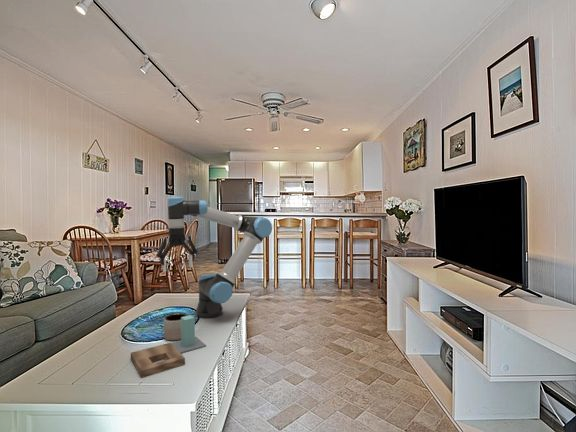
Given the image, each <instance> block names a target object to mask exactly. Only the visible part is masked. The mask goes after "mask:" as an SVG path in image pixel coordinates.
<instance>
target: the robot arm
mask: <svg viewBox="0 0 576 432" xmlns="http://www.w3.org/2000/svg"><path fill="white" fill-rule="evenodd" d="M167 216H168V222H167V223H168V238H167V237H162V240H161V241H162V242H161V244H160V246H159V249H158V251H157V253H156V256H155V257H156V258H158V259H160V265H161V266H162V272H164V273H165V272H167V259H166V256H167V255H168V254H169V252H170V251H171V249H172V248H173V247H177V246H179V247H181V246H182V247H184V249H185V250H186V251H187V252H188V253H189V254H188V268H193V267H194V264H193V261H195V260H194V259H195V255H196V254H197V253H198V250H197V248H196V246H195V244H194V242H193V240H192V237H191V235H187V236H185V235H186V233H185V216H191V217H195V218H199V219H203V220H206V221H209V222H213V223H216V224H219V225H223V226H227V227H229V228H232V229H233V228H234V231H238V232H241V233H243V234H244V236H243V237H242V240H241V241H240V242H239V244H238V246H237V247H236V249H235V250H234V252H233V253H232V255H231V256H230V258H229V259H228V261H227V262H226V264H225V266H224V267H223V269H222V270H221V271H220V272H217V273H205V274H201V275H199V276H198V302H197V303H198V304H197V307H196V310H195V315H196V314H197V315H199V317H198V318H203V319H204V318H205V319H209V318H216V317H219V316H221V315H222V314H223V313H224V311H223V310H224V309H223V306H222V304H224V303H227V302H228V301H229V300H230V299H231V298H232V296H233V293H234V290H233V288H234V286H235V284H236V283H235V280H236V278H237V276H238V275H239V274H240V272H241V270H242V268H243V267H244V265H245V264H246V262H247V261H248V259H249V257H250V256H251V254H252V253H253V251H254V250H255V248H256V246H257V245H259V244H262V243H263V240H264V239H266V238H268V237H269V236H270V235H271V234H272V232H273V226H272V223H271V221H270V220H269V219H268V217H264V216H245V215H242V214H238V215H235V214H232V213H230V212H227V211H223V210H220V209H217V208H214V207H210V206H208V203H207V201H206V200H202V199H200V200H184V197H183V196H169V197H168V199H167ZM185 240H186V241H187V243H188V245H187V243H186V242H185ZM168 242H169V243H168ZM167 243H168V244H167ZM166 245H167V246H166Z"/></svg>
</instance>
